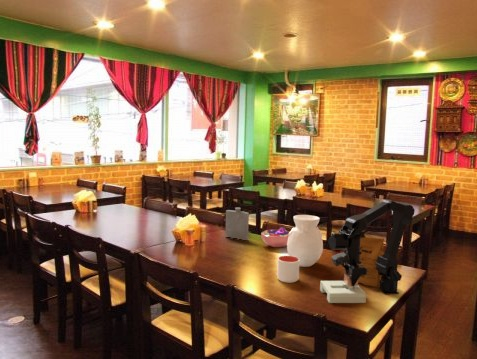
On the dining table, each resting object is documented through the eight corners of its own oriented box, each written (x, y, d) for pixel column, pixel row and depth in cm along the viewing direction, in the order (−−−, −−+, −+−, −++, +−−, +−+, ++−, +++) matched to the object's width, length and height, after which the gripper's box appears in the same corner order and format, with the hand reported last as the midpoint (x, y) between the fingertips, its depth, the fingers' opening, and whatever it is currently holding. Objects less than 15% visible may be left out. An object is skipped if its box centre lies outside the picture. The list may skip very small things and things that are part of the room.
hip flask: (224, 237, 261) (225, 206, 259) (227, 236, 265) (228, 205, 263) (246, 241, 254) (247, 209, 252) (249, 239, 258) (250, 208, 255)
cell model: (255, 244, 248) (256, 226, 247) (283, 241, 256) (284, 223, 255) (269, 251, 233) (269, 232, 231) (298, 248, 241) (299, 229, 240)
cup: (296, 276, 194) (297, 255, 193) (300, 283, 184) (301, 262, 183) (275, 275, 193) (276, 255, 192) (278, 283, 184) (279, 262, 182)
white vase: (321, 271, 201) (324, 222, 199) (284, 267, 205) (286, 219, 202) (321, 260, 220) (324, 214, 217) (287, 257, 223) (289, 212, 220)
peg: (353, 293, 174) (354, 273, 173) (356, 297, 169) (358, 276, 168) (343, 293, 173) (344, 273, 172) (346, 297, 169) (347, 276, 168)
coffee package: (359, 276, 196) (362, 231, 193) (385, 283, 188) (388, 236, 185) (350, 281, 188) (353, 235, 186) (376, 288, 180) (380, 240, 178)
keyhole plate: (353, 289, 179) (354, 280, 178) (365, 302, 165) (366, 293, 164) (320, 289, 178) (320, 280, 177) (329, 302, 164) (329, 293, 163)
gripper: (327, 241, 178) (325, 276, 180) (341, 254, 159) (339, 292, 161) (352, 241, 179) (350, 276, 180) (368, 254, 160) (366, 292, 162)
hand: (350, 283), depth 171 cm, fingers closed on peg, 4 cm apart
